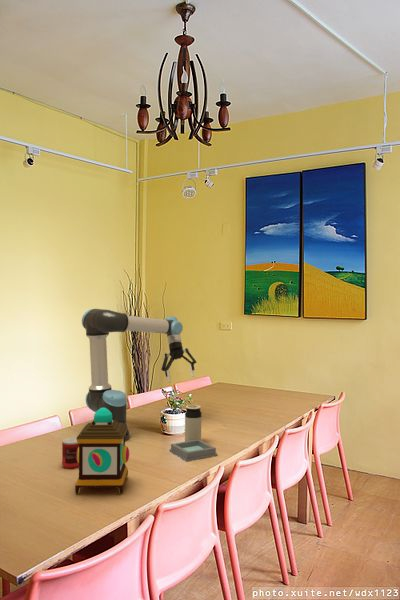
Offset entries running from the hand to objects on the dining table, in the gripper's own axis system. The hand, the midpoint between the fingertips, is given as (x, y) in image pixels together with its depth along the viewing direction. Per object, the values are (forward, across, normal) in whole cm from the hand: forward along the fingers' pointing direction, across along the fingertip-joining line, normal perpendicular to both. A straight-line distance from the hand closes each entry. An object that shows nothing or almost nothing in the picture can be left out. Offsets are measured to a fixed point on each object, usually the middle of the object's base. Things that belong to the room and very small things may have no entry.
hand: (181, 379), depth 281 cm
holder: (+44, -9, +35) cm, 57 cm away
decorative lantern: (+52, +16, +79) cm, 96 cm away
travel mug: (+37, -6, +21) cm, 43 cm away
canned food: (+41, +36, +64) cm, 85 cm away
